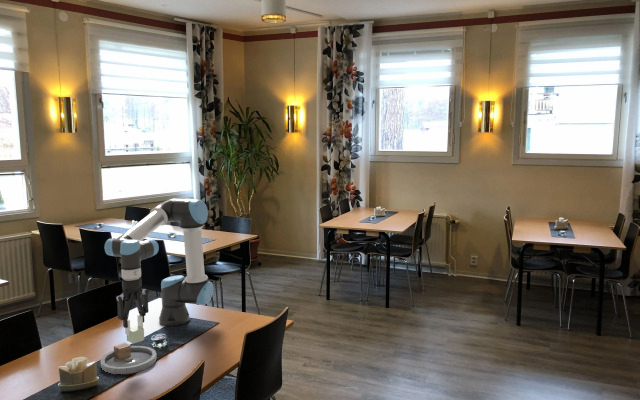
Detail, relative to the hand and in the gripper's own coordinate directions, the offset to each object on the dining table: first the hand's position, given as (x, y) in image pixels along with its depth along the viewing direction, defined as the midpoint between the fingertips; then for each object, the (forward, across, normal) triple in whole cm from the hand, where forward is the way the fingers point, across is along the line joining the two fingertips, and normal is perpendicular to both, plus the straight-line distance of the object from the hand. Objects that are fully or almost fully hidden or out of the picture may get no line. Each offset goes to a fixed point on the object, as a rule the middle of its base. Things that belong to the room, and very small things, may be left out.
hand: (134, 332), depth 216 cm
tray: (+15, 0, +6) cm, 16 cm away
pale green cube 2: (+3, 0, -1) cm, 3 cm away
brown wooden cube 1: (+14, 0, +11) cm, 18 cm away
